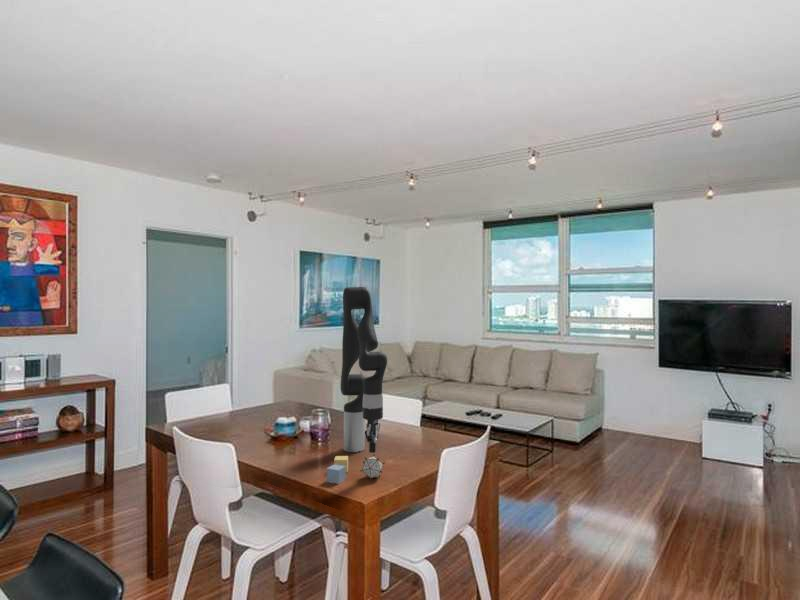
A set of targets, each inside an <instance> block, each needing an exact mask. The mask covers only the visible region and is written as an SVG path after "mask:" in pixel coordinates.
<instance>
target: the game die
mask: <svg viewBox="0 0 800 600" xmlns="http://www.w3.org/2000/svg"><path fill="white" fill-rule="evenodd" d="M375 454H376V453H375ZM375 454H373V456H371V457H368V458H367V457H364V460H365V461H363V462H362V464H363V465H362V469H360V470H359V472H363V473H364V474H365V475H366V477H369V478H370V481H372V479H373V478H376V477H379V478H380V477H381V475H380V474H381V473H383V471H382V469H383V465H385V464H386V463H385V462H382V461H380V460H379V459H380V458H379V457H378V458H377V457H376V456H375Z"/></svg>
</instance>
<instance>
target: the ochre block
mask: <svg viewBox="0 0 800 600" xmlns="http://www.w3.org/2000/svg"><path fill="white" fill-rule="evenodd" d="M333 461H334V463H333V465H341V466H346V472H347V473H348V472H349V455H336V456H335V457H334V460H333Z"/></svg>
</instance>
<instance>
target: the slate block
mask: <svg viewBox="0 0 800 600" xmlns="http://www.w3.org/2000/svg"><path fill="white" fill-rule="evenodd" d="M346 475H347V473H346V466H341V465H334V464H332V465H331V466H328V467H327V468H326V483H328V482H329V483H330V484H335V483H336V484H335V485H340V484H341V483H343V482H345V481H346V480H347V479H346V477H347V476H346ZM345 479H346V480H345ZM342 481H343V482H342ZM339 483H340V484H339Z"/></svg>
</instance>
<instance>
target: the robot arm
mask: <svg viewBox="0 0 800 600" xmlns="http://www.w3.org/2000/svg"><path fill="white" fill-rule="evenodd" d="M342 310H343V311H342V313H343V314H342V315H343V327H342V328H343V329H342V344H341V346H342V354H341V355H342V356H341V357H342V359H341V360H342V361H341V362H342V363H341V374H340V392H341V395H343V396H356V398H354V399H352V400H351V401H349V402H346V403H345V404H344V405H343V451H345V452H346V453H347V452H348V453H359V451H360V452H363V451H364V450H365V440H366V442H367V443H369V445H368V447H369V450H368V452H369V453H371V454H373V453H375V454H376V451H377V440H378V439H379V434H380V429H381V423H380V422H379V420H382V419H383V418H384V397H383V381H384V376H385V372H386V369H387V365H388V356H387V354H386V353H385V352H383V351H375V350H377V348H378V347H379V343H378V338H377V334H376V330H375V325H374V324H375V323H374V313H373V312H374V311H373V303H372V296H371V292H370V289H369V288H368V287H367V286H352V287H351V286H350V287H349V286H348V287H345V288H344V290H343V293H342ZM353 310H363V311H364V312H363V315H362V318H361V320H360V321H359V324H357V322H356V321H355V319H354V317H353V313H352V312H353ZM357 361H358V367H359V368H360V370H362V371H364V372H372V371H375V372H374V374H373V375H370V376H368V377H365V375H364V374H362V373H358V374H357V373H356V374H353V373H352V374H350V373H351V370H352V368H353V367H354V365H355V364H356V363H357ZM365 420H366V421H367V423H365ZM365 428H366V429H365ZM365 438H366V439H365Z"/></svg>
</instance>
